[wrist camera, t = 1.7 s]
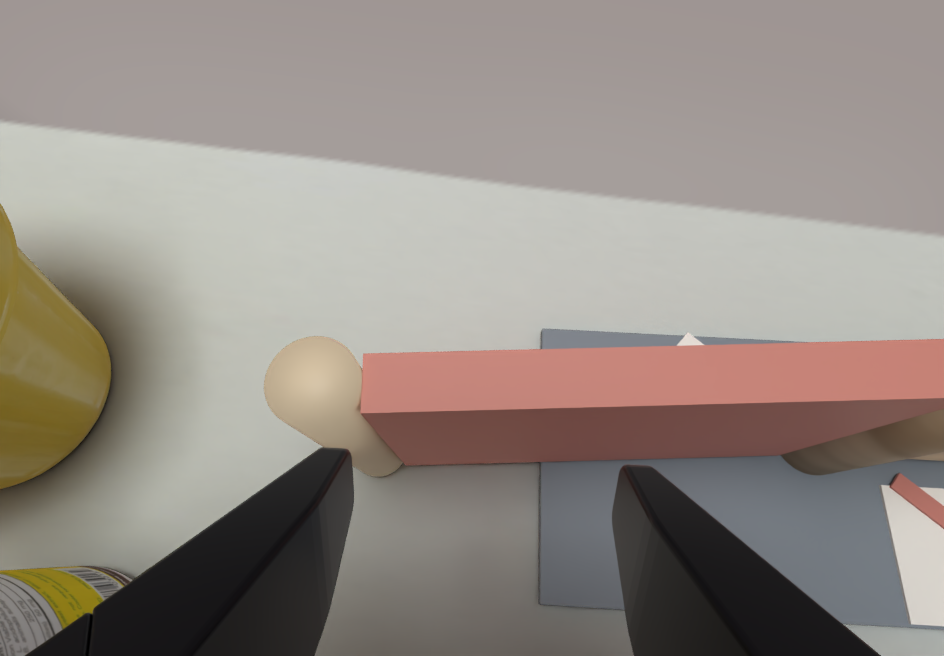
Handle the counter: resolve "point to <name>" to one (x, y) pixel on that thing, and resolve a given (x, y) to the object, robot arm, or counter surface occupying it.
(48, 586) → the supplement bottle
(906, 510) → the board
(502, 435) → the fence gate
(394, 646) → the counter surface
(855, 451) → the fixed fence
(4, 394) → the plant pot
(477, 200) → the counter surface
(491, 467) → the counter surface
